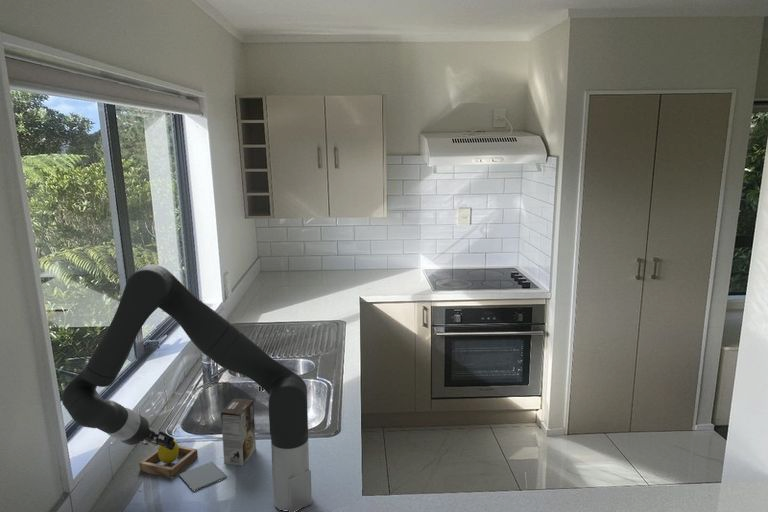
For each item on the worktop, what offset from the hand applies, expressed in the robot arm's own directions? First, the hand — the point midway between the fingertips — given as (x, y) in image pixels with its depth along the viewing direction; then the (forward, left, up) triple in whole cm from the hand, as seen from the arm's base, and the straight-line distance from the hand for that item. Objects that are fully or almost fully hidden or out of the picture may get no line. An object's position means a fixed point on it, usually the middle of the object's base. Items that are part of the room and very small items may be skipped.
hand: (160, 443), depth 150 cm
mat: (-11, -7, -8) cm, 15 cm away
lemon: (+1, -2, -8) cm, 9 cm away
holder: (+1, -3, -8) cm, 8 cm away
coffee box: (-9, -20, -8) cm, 23 cm away
